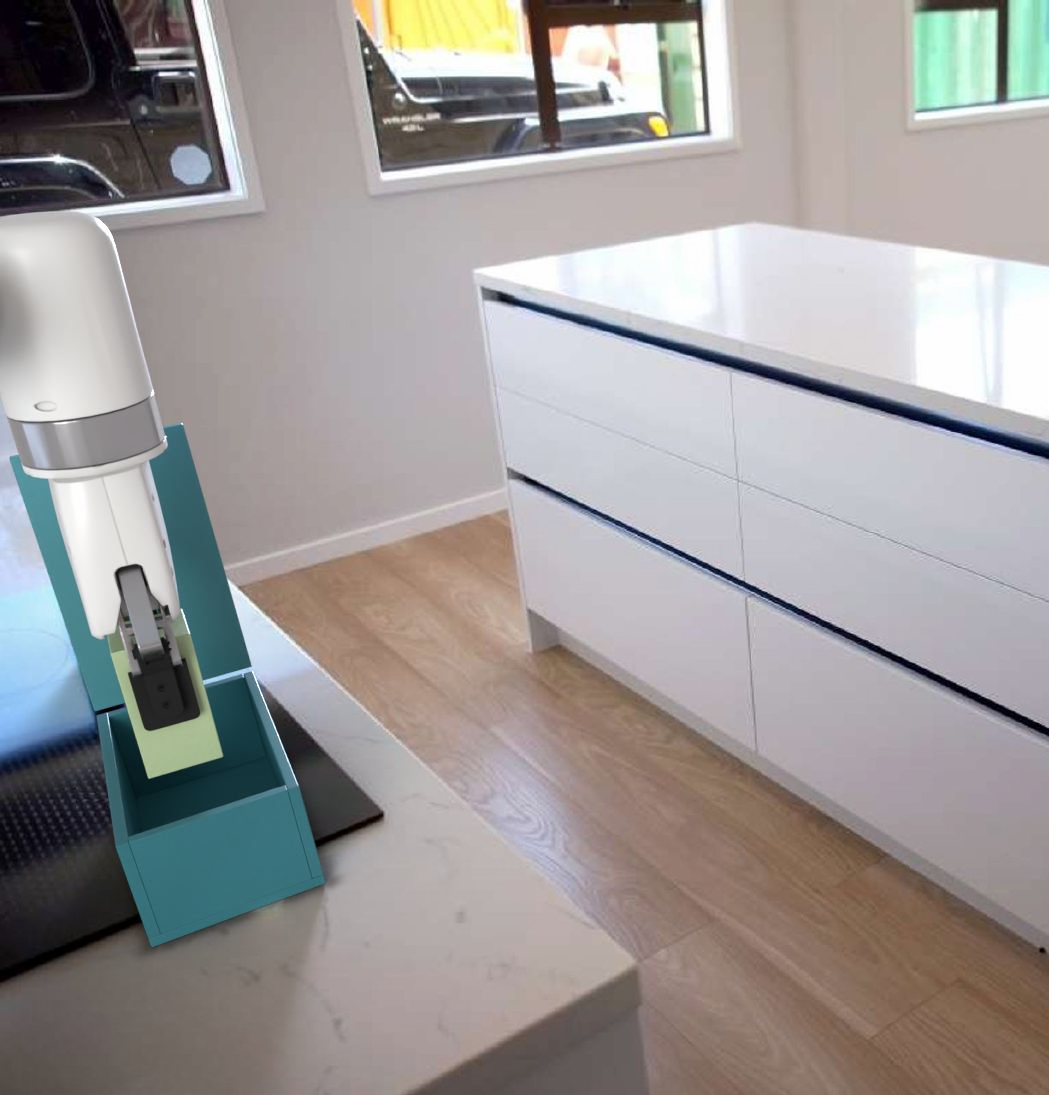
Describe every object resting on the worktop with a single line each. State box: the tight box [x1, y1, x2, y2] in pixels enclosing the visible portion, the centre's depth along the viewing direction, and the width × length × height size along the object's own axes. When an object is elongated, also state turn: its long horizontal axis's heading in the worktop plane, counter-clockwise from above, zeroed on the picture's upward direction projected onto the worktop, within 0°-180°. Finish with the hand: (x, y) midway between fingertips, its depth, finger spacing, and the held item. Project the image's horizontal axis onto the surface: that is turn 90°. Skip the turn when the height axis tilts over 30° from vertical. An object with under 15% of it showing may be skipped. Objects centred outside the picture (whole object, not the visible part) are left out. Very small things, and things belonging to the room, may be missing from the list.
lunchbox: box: [96, 670, 326, 948], centre depth 85 cm, size 18×10×8 cm, turn 31°
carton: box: [107, 609, 223, 779], centre depth 79 cm, size 4×4×9 cm
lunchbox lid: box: [8, 422, 253, 712], centre depth 88 cm, size 18×10×5 cm
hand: (168, 702), depth 80 cm, fingers closed on carton, 4 cm apart
